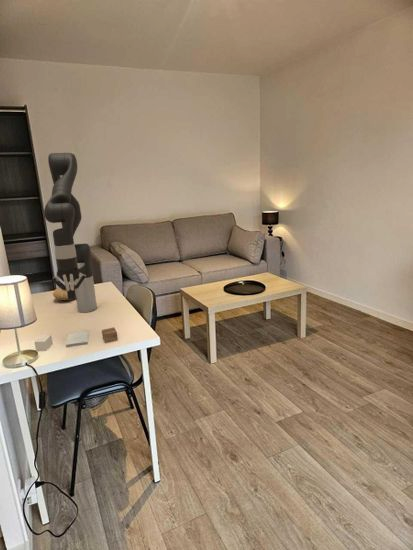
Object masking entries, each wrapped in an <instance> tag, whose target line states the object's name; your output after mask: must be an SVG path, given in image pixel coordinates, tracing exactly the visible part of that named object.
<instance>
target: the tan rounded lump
mask: <svg viewBox="0 0 413 550" xmlns="http://www.w3.org/2000/svg"><path fill="white" fill-rule="evenodd" d="M70 288H71V285H70ZM52 296H53V297H54V298H55V299H56V300H60V301H61V300H62V301H68V302H69V301H71V300H70V298H68V295H67V291H66V290H62V289H61V288H60V287H57V288H56V289H54V291H53V292H52ZM74 299H76V297H75V298H74Z"/></svg>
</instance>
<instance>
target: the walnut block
mask: <svg viewBox="0 0 413 550" xmlns="http://www.w3.org/2000/svg"><path fill="white" fill-rule="evenodd" d="M101 334H102V340H103V342H104V343H105V344H108V343H112V342H117V341H118V340H119V339H118V332H117V330H116V328H115V327H114V326H113V327H108V328H103V329H101Z"/></svg>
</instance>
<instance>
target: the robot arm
mask: <svg viewBox="0 0 413 550" xmlns="http://www.w3.org/2000/svg"><path fill="white" fill-rule="evenodd" d="M47 158H48V159H47V160H48V166H49V171H50V175H51V179H52V183H53V186H52V189H51V196H50V198H49V199H48V201H47V202H46V204H45V206H44V209H43V210H44V211H43V216H44V218H45V220H46V221H47V222H49V223H51V224H56V223H57V224H58V223H61V227H60V228H57V229H54V230H53V231H52V238H53V245H54V257H55V263H56V267H57V268H56V269H57V272H56V275H55V276H53V277H52V278H51V281H52V283H54V284H55V285H56V286H57V288H59V287H60V288H61V289H62V290H66V291H67V295H68V298H70V300H69V301H71V300H72V301H73V300H75V299H76V300H75V301H76V309H77V312H78V313H90V312H93V311H96V310H97V309H98V305H97V297H96V289H95V281H94V273H93V266H92V254H91V253H92V252H91V247H90V245H89V244H88V243H75V241H74V240H75V239H74V236H75V233H76V231H77V230H78V227H79V226H80V223H81V221H82V212H81V211H82V210H81V205H80V202H79V201H78V200H77V198H76V197H75V196H74V195H73V194H72V191H73V190H72V189H73V186H74V183H75V180H76V177H77V173H78V161H77V157H76V155H75V154H74V153H72V152H51V153H48V157H47ZM78 264H83V266H81V267H80V268H79V265H78ZM60 280H61V281H62V282H61V281H60ZM63 282H64V283H63ZM70 285H71V288H70ZM75 297H76V298H75Z"/></svg>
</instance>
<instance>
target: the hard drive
mask: <svg viewBox="0 0 413 550" xmlns="http://www.w3.org/2000/svg"><path fill="white" fill-rule="evenodd" d="M89 335H90V330H88V329H87V330H80V331H79V330H78V331H72V332H68V334H67V339H66V343H65V347H66V348H70V347H78V346H85V345H88V344H89Z"/></svg>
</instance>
